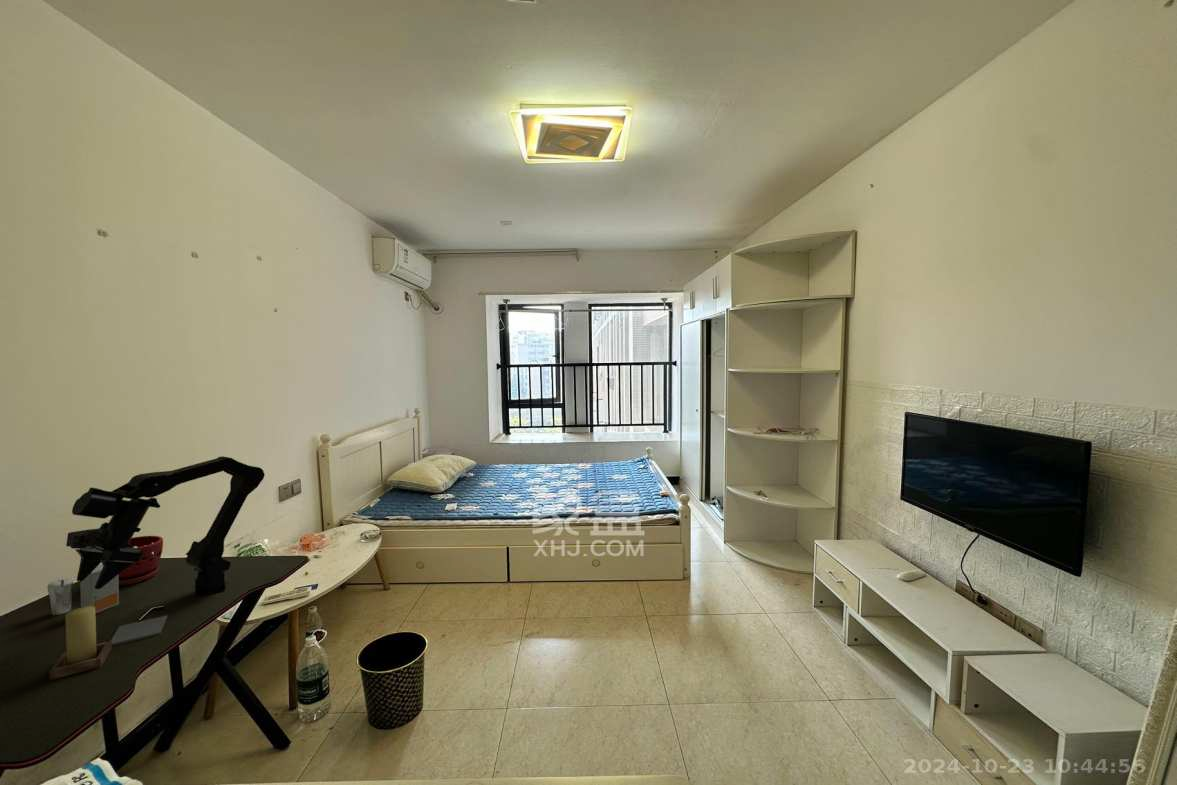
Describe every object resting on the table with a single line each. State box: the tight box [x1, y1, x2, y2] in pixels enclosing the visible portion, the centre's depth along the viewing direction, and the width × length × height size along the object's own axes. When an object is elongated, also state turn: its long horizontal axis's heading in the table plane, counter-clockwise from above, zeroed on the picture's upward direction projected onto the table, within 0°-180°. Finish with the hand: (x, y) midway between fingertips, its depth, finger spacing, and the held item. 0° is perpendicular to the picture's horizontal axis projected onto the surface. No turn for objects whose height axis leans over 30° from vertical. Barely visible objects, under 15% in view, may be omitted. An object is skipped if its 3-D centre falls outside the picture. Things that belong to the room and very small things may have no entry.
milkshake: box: [46, 577, 74, 616], centre depth 118 cm, size 5×5×10 cm
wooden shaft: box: [64, 606, 98, 665], centre depth 98 cm, size 4×4×12 cm
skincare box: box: [79, 563, 120, 615], centre depth 120 cm, size 6×4×12 cm
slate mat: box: [110, 615, 168, 647], centre depth 111 cm, size 9×9×1 cm
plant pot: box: [118, 535, 164, 586], centre depth 137 cm, size 13×13×12 cm
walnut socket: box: [48, 640, 113, 681], centre depth 98 cm, size 8×8×2 cm
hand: (88, 584), depth 107 cm, fingers open, 9 cm apart
